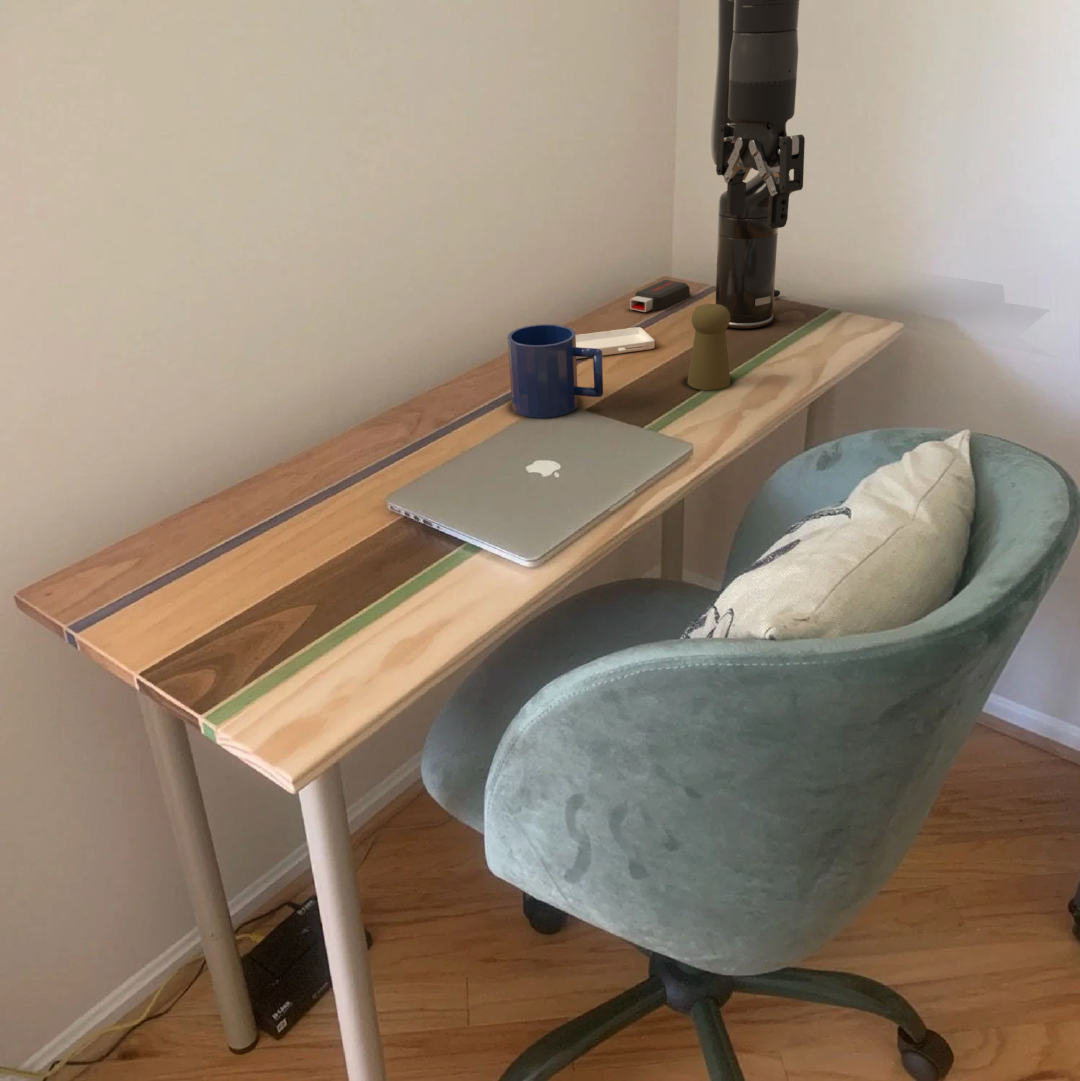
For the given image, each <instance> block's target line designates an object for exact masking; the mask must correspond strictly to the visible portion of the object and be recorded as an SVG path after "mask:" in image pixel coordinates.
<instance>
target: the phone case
mask: <svg viewBox="0 0 1080 1081" xmlns="http://www.w3.org/2000/svg"><path fill="white" fill-rule="evenodd" d="M655 342H656V340H655V339H654V338H653V337H652V336H651V335H650V334H649V333H648V332H647V331H646V330H644V328H642V327H640V326H638V327H637V326H636V327H635V326H634V327H628V328H619V329H613V330H604V331H596V332H589V333H581V334H576V347H581V348H595V349H600V350H601V351H602V357H603V356H609V355H617V354H624V353H632V352H641V351H647V350H653V349H655V347H656V346H655V344H656V343H655ZM586 358H589V357H577V356H576V359H577V360H579V359H586Z"/></svg>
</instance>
